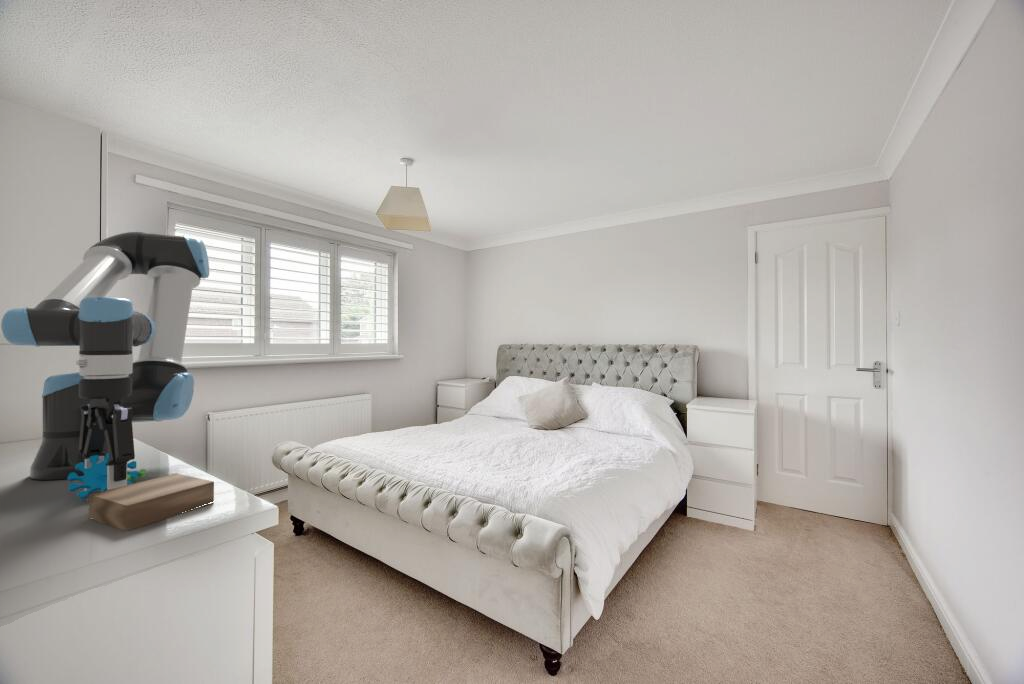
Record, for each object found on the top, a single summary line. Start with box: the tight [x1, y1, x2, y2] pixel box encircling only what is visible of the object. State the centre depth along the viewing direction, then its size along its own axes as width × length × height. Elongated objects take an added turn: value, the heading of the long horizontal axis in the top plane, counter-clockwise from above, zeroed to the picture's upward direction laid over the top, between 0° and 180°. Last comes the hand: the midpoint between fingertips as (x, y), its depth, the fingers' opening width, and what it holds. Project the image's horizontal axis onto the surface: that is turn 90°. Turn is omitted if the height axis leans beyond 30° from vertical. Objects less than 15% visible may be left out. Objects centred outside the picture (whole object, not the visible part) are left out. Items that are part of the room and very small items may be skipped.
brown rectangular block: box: [88, 473, 215, 532], centre depth 75 cm, size 12×13×4 cm
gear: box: [66, 453, 147, 500], centre depth 83 cm, size 11×6×10 cm
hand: (105, 493), depth 82 cm, fingers closed on gear, 8 cm apart
